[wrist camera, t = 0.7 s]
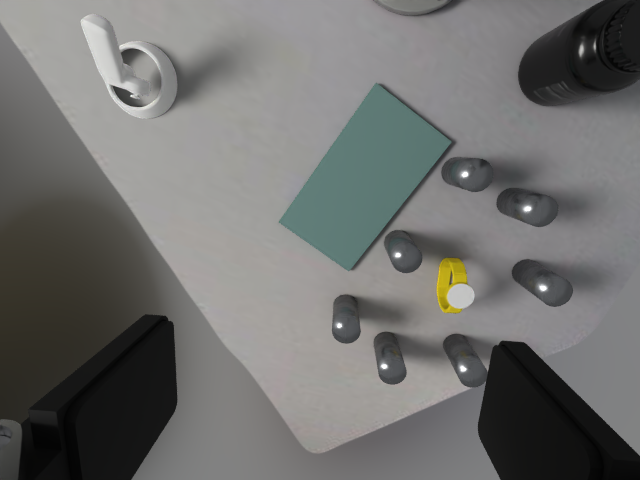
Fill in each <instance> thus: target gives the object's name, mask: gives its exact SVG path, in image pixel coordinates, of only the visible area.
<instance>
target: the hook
mask: <svg viewBox="0 0 640 480" xmlns="http://www.w3.org/2000/svg"><path fill="white" fill-rule="evenodd" d="M81 25H82V28H83V31H84V34H85V37H86V39H87V42H88V44H89V47H90V50H91V52H92V55H93V58H94V60H95V63H96V65H97V68H98V70H99V73H100V74H101V76H102V77H103V79H104V81H105V83H106V86H107V89H108V91H109V93H110V95H111V97H112V98H113V99H114V101H115V102H116V103H117V104H118V105H119V106H120V107H121V108H122V109H123V110H124V111H126V112H127V113H129V114H130V115H133V116H135V117H138V118H142V119H151V118H156V117H158V116H160V115H162V114H164V113H165V112H166V111H168V109H169V108H170V107H171V106H172V104H173V102H174V100H175V97H176V94H177V87H178V84H177V76H176V72H175V69H174V67H173V64H172V62H171V61H170V59H169V58H168V56H167V55H166V54H165V53H164V52H163V51H162V50H160V49H159V48H158V47H156V46H154V45H152V44H150V43H147V42H143V41H132V42H128V43H124V44H122V45H120V46H119V45H118V42H117V38H116V35H115V32H114V29H113V26H112V25H111V23H110V22H109V21H108V20H107V19H106V18H104V17H102V16H100V15H97V14H90V15H88V16H86V17H84V18H83V19H82V20H81ZM131 48H135V49H139V50H142V51H144V52H145V53H147V54H148V55H149V56H150V57H151V58H152V59H153V60H154V61H155V63H156V64H157V66H158V68H159V71H160V75H161V88H160V92H159V94H158V96H157V98H156V99H155V100H154V101H153V102H152V103H151V104H149V105H147V106H144V107H132V106H129V105H127V104H125V103H123V102H122V101H121V100H120V99H119V98H118V96H117V95H116V93H115V91H114V88H113V86H116V87H119V88H122V89H126V90H128V91H129V92H132V93H133V95H130V97H132V98H136V99H139V100H140V97H138V95H142V96H143V95H146V96H148V95H149V93H150V91H151V84H150V82H149V81H146V80H143V79H140V78H137V77H136V75H135V72H134V70H133V69H132V68H131V67H130V66H129V65H127V64H124V63H123V60H122V56H121V53H122V52H123V51H124V50H126V49H131Z"/></svg>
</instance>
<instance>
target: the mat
mask: <svg viewBox="0 0 640 480" xmlns="http://www.w3.org/2000/svg"><path fill="white" fill-rule="evenodd" d="M450 144H451V141H450V140H449V139H448V138H446V137H445V136H444V135H442V134H441V133H440V132H439V131H437V130H436V129H435V128H433V127H432V126H431V125H430V124H428V123H427V122H426V121H424V120H423V119H422V118H421V117H419V116H418V115H417V114H416V113H414V112H413V111H412V110H410V109H409V108H408V107H407V106H405V105H404V104H403V103H401V102H400V101H399V100H398V99H396V98H395V97H394V96H393V95H391V94H390V93H389V92H387V91H386V90H385V89H384V88H382V87H381V86H380V85H378V84H377V83H375V85H374V86H373V88H372V89H371V91H370V92H369V93H368V95H367V96H366V98H365V99H364V101H363V102H362V104H361V105H360V106H359V108H358V109H357V111H356V112H355V114H354V115H353V116H352V118H351V119H350V121H349V122H348V124H347V125H346V126H345V128H344V129H343V131H342V132H341V134H340V135H339V136H338V138H337V139H336V141H335V142H334V144H333V145H332V147H331V148H330V149H329V151H328V152H327V154H326V155H325V157H324V158H323V159H322V161H321V162H320V164H319V165H318V167H317V168H316V169H315V171H314V172H313V174H312V175H311V177H310V178H309V179H308V181H307V182H306V184H305V185H304V187H303V188H302V189H301V191H300V192H299V194H298V195H297V197H296V198H295V200H294V201H293V202H292V204H291V205H290V207H289V208H288V210H287V211H286V212H285V214H284V215H283V217H282V218H281V220H280V221H279V223H281V224H282V225H283V226H285V227H286V228H288V229H289V230H290V231H292V232H293V233H295V234H296V235H298V236H299V237H300V238H302V239H303V240H305V241H306V242H308V243H309V244H310V245H312V246H313V247H315V248H316V249H318V250H319V251H320V252H322V253H323V254H325V255H326V256H327V257H329V258H330V259H332V260H333V261H335V262H336V263H337V264H339V265H340V266H342V267H343V268H345V269H346V270H347V271H350V269H351V268H352V267H353V266H354V264H355V263H356V262H357V261H358V259H359V258H360V257H361V256H362V254H363V253H364V252H365V250H366V249H367V248H368V247H369V245H370V244H371V243H372V242H373V240H374V239H375V238H376V237H377V235H378V234H379V233H380V232H381V230H382V229H383V228H384V227H385V225H386V224H387V223H388V222H389V220H390V219H391V218H392V217H393V215H394V214H395V213H396V211H397V210H398V209H399V208H400V206H401V205H402V204H403V203H404V201H405V200H406V199H407V198H408V196H409V195H410V194H411V193H412V191H413V190H414V189H415V188H416V186H417V185H418V184H419V183H420V181H421V180H422V179H423V178H424V176H425V175H426V174H427V172H428V171H429V170H430V169H431V167H432V166H433V165H434V164H435V162H436V161H437V160H438V159H439V157H440V156H441V155H442V154H443V152H444V151H445V150H446V149H447V147H448V146H449V145H450Z"/></svg>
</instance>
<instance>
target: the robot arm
mask: <svg viewBox="0 0 640 480" xmlns="http://www.w3.org/2000/svg"><path fill="white" fill-rule="evenodd" d="M373 1H375V2H376V3H377V4H378V5H380V6H381V7H383V8H385V9H387V10H388V11H391V12H394V13H398V14H402V15H420V14H426V13H429V12H432V11H435V10H438V9H439V8H441V7H443V6H445V5H446V4H448V3H450V2H451V1H452V0H440V1H438V0H373ZM176 384H177V383H176V363H175V343H174V325H173V322H171V321H168V318H167V317H166V316H160V315H144V316H142V317H141V318H140V319H139V320H138V321H136V322H135V323H134V324H133V325H131V326H130V327H129V328H128V329H126V330H125V331H124V332H123V333H122V334H120V335H119V336H118V337H117V338H115V339H114V340H113V341H112V342H111V343H109V344H108V345H107V346H105V347H104V348H103V349H102V350H101V351H99V352H98V353H97V354H96V355H94V356H93V357H92V358H91V359H89V360H88V361H87V362H86V363H85V364H83V365H82V366H81V367H80V368H78V369H77V370H76V371H75V372H74V373H73V374H71V375H70V376H69V377H67V378H66V379H65V380H64V381H62V382H61V383H60V384H59V385H57V386H56V387H55V388H54V389H52V390H51V391H50V392H49V393H48V394H46V395H45V396H44V397H43V398H41V399H40V400H39V401H38V402H36V403H35V404H34V405H33V406H32V407H30V408H29V409H28V413H29V418H28V419H26V420H25V421H24V422H23V423H22V424H21V425H20V424H18V423H17V422H15V421H10V420H0V480H131V479H132V477H133V476H134V474H135V473H136V471H137V470H138V468H139V467H140V465H141V463H142V462H143V460H144V459H145V457H146V456H147V454H148V453H149V451H150V449H151V448H152V446H153V445H154V443H155V442H156V440H157V439H158V437H159V435H160V434H161V432H162V431H163V429H164V428H165V426H166V425H167V423H168V421H169V420H170V418H171V417H172V415H173V413H174V412H175V409H176V405H177V385H176ZM478 433H479V437H480V440H481V442H482V444H483V446H484V448H485V450H486V452H487V454H488V456H489V457H490V459H491V462H492V464H493V465H494V468H495V469H496V471H497V473H498V475H499V477H500V479H501V480H640V456H639V455H638V454H637V453H636V452H635V451H634V450H633V449H632V448H631V447H630V446H629V445H628V444H627V443H626V442H625V441H624V440H623V439H622V438H621V437H620V436H619V435H618V434H617V433H616V432H615V431H614V430H613V429H612V428H611V427H610V426H609V425H608V424H607V423H606V422H605V421H604V420H603V419H602V418H601V417H600V416H599V415H598V414H597V413H596V412H595V411H594V410H593V409H591V407H590V406H589V405H588V404H587V403H586V402H585V401H584V400H583V399H582V398H581V397H580V396H579V395H577V394H576V393H575V392H574V391H573V390H572V389H571V388H570V387H569V386H568V385H567V384H566V383H565V382H564V381H563V380H562V379H561V378H560V377H559V376H558V375H557V374H556V373H555V372H554V371H553V370H552V369H551V368H550V367H549V366H548V365H547V364H546V363H545V362H544V361H543V360H542V359H541V358H540V357H539V356H538V355H537V354H536V353H535V352H534V351H533V350H532V349H531V348H530V347H529V346H528V345H527V344H525V343H524V342H512V341H501V342H500V343H499V345H498V346H497V345H495V346H494V347H493V350H492V354H491V359H490V365H489V370H488V375H487V380H486V386H485V391H484V396H483V401H482V407H481V411H480V417H479V422H478Z"/></svg>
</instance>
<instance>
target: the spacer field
mask: <svg viewBox="0 0 640 480" xmlns="http://www.w3.org/2000/svg"><path fill="white" fill-rule="evenodd" d="M441 174H442V178H443V180H444V181H445V182H446V183H447V184H450V185H453V186H456V187H459V188H462V189H465V190H468V191H471V192H478V191H482V190H484V189H485V188H487V187H488V186H489V185H490V183H491V181H492V179H493V168H492V166H491V165H490V163H489V162H487V161H486V160H483V159H475V158H461V157H454V158H451V159H449V160H448V161H446V162H445V164H444V165H443V167H442V171H441ZM497 208H498V210H499V211H500V212H501V213H502V214H505V215H507V216H510V217H512V218H515V219H517V220H520V221H522V222H525V223H527V224H530V225H532V226H535V227H543V226H546V225H548V224H550V223H551V222H552V221H553V220H554V219H555V218H556V216H557V213H558V204H557V202H556V201H555V199H554V198H552V197H550V196H547V195H543V194H538V193H534V192H530V191H525V190H521V189H516V188H509V189H506V190H504V191H503V192H501V193H500V195H499V196H498V198H497ZM384 246H385V249H386V251H387V253H388V255H389V258H390V260H391V262H392V264H393V266H394V268H395V269H396V270H398V271H400V272H402V273H410V272H413V271H415V270H416V269H418V267H419V266H420V265H421V262H422V253H421V251H420V250H419V248H418V247H417V246H416V245H415V243H414V242H413V241H412V240H411V238H410V237H409V236H408V235H407V233H405V232H404V231H401V230H395V231H392V232H390V233H389V234H388V235H387V236H386V237H385V240H384ZM512 277H513V279H514V280H515V281H516V282H517V283H519V284H520V285H521V286H523V287H524V288H525V289H527V290H528V291H529V292H531V293H532V294H533V295H535V296H536V297H537V298H539V299H540V300H541V301H543V302H544V303H545V304H547V305H549V306H553V307H557V306H561V305H563V304H565V303H566V302H568V301H569V299H570V298H571V296H572V293H573V288H572V285H571V284H570V282H568V281H567V280H565V279H564V278H562V277H560V276H558V275H557V274H555V273H553V272H551V271H550V270H548V269H546V268H545V267H543V266H541V265H539V264H538V263H536V262H534V261H532V260H528V259H526V260H522V261H519V262H518V263H517V264H516V265H515V266H514V267H513V270H512ZM360 332H361V330H360V321H359V312H358V304H357V301H356V299H355V298H354V297H352V296H350V295H341V296H339V297H337V298H336V299H335V301H334V304H333V323H332V333H333V336H334V338H335V339H336V340H337V341H339V342H341V343H352V342H354V341H356V340H357V339H358V337H359V336H360ZM443 348H444V350H445V352H446V354H447V356H448V358H449V360H450V362H451V364H452V366H453V368H454V370H455V372H456V374H457V375H458V377H459V379H460V381H461V383H462V384H463V385H465V386H467V387H478V386H480V385H482V384H483V383H484V382H485V381H486V380H487V375H488V372H487V369H486V368H485V366H484V365H483V363H482V362H481V360H480V359H479V357H478V356H477V354H476V353H475V351H474V350H473V348H472V347H471V345H470V344H469V342H468V341H467V339H466V338H465V337H464V336H462V335H460V334H452V335H450V336H448V337H447V338H446V339H445V340H444V343H443ZM374 349H375V355H376V361H377V367H378V373H379V377H380V379H381V380H382V381H383V382H385V383H387V384H398V383H400V382H402V381H403V380H404V379H405V377H406V373H407V372H406V367H405V364H404V361H403V357H402V354H401V351H400V347H399V344H398V341H397V338H396V336H395V335H394V334H392V333H390V332H382V333H379V334H378V335H377V336H376V337H375V338H374Z"/></svg>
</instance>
